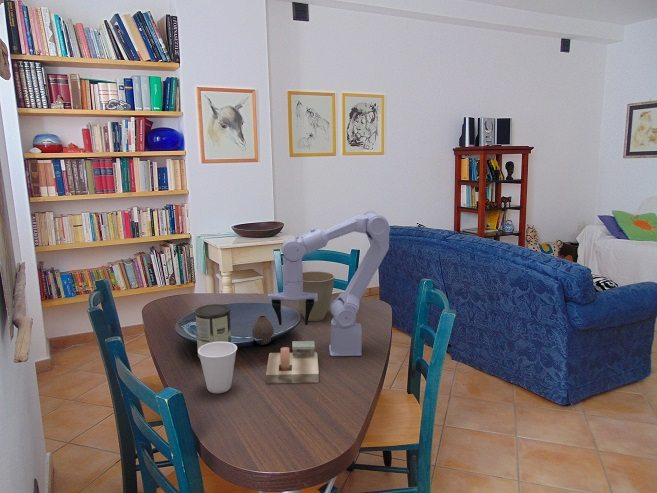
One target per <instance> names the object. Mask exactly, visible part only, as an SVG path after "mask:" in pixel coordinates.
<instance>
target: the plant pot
mask: <svg viewBox="0 0 657 493" xmlns="http://www.w3.org/2000/svg"><path fill="white" fill-rule="evenodd" d="M302 275H303V292H307V293H317V294H318V301H314V306H313V308H312V310H311V312H310V315H309V318H308V322H309V321H310V322H320V321H323V320H324V319H325V317H326V315H327V312H328V309H329V308H330V304H331V303H330V302H331V299H332V297H333V296H332V295H333V290H334V285H335V284H334V283H335V278H336V277H335V276H336V275H335V274H334V273H330V272H328V271H327V272H326V271H320V270H318V271H315V270H314V271H312V270H310V271H302ZM297 302H298V304H299V305H298V306H299V308H300V311H301V313H302V316H303V319H305V313H306V301H297Z"/></svg>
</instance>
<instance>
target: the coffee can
mask: <svg viewBox="0 0 657 493" xmlns="http://www.w3.org/2000/svg"><path fill="white" fill-rule="evenodd" d="M194 315H195V328H196V344H197V350H198V349H199V348H200V347H201V346H203V345H205V344H208V343H212V342H221V341H222V342H230V343H232V333H231V332H232V330H231V308H230V306H229V305H225V304H221V303H220V304H218V303H216V304H213V303H212V304H207V305H202V306H199V307H197V308H195V310H194ZM197 357H198V358H199V359H200V356H199V354H198V353H197Z"/></svg>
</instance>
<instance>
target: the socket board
mask: <svg viewBox="0 0 657 493" xmlns="http://www.w3.org/2000/svg"><path fill="white" fill-rule="evenodd" d="M267 359H268V360H267V365H266V373H265V384H268V385H269V384H309V383H310V384H311V383H316V384H317V383H320V382H319V380H320V379H319V378H320V377H319V374H320V373H319V362H318V361H319V359H318V352H316V351H314V356H310V351H309V352H307V351H303V352H302V351H301V352H298V351H297V356H293V352H290V371H281V352H269V354H268V358H267Z"/></svg>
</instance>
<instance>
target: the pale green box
mask: <svg viewBox="0 0 657 493" xmlns="http://www.w3.org/2000/svg"><path fill="white" fill-rule="evenodd" d="M291 342H292V343H291V344H292V347H291V348H292V353H293V356H297V352H298V350H309V352H310V356H314V352H315V350H316V345H315V340H306V341H305V340H302V341H301V340H297V341H296V340H294V341H291Z"/></svg>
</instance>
